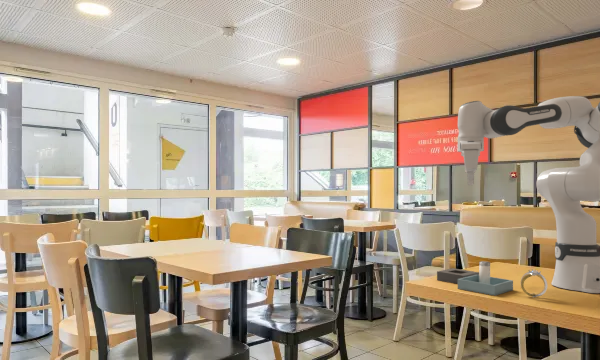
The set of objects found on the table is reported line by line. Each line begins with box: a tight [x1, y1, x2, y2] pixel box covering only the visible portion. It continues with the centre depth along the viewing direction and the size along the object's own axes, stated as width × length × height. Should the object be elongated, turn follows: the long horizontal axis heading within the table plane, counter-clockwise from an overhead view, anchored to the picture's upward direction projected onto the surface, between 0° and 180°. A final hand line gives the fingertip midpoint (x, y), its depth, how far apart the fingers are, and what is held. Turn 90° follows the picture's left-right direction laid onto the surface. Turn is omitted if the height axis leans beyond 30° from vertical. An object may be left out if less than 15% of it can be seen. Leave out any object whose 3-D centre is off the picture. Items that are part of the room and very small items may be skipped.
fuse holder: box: [436, 267, 479, 285], centre depth 155 cm, size 10×10×3 cm
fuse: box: [478, 260, 491, 284], centre depth 142 cm, size 3×3×8 cm
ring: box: [520, 269, 548, 298], centre depth 131 cm, size 7×3×8 cm, turn 68°
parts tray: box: [457, 275, 514, 297], centre depth 141 cm, size 12×12×3 cm
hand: (470, 185), depth 161 cm, fingers open, 8 cm apart
